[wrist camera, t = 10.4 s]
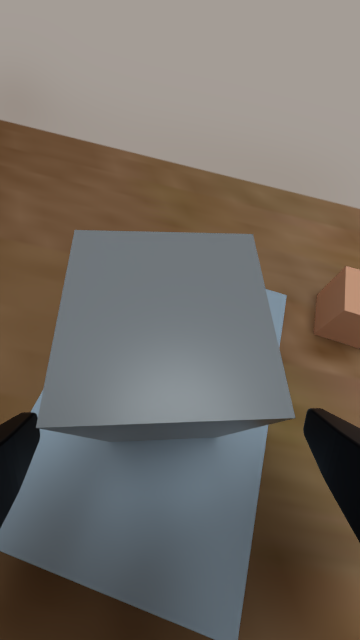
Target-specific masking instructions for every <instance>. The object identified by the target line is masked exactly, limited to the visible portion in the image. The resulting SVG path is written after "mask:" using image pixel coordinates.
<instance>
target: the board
mask: <svg viewBox="0 0 360 640" xmlns="http://www.w3.org/2000/svg"><path fill="white" fill-rule="evenodd" d="M266 294H267V298H268V302H269V306H270V311H271V315H272V319H273V324H274V328H275V332H276V337H277V341H278V345H279V346H280V339H281V332H282V325H283V318H284V311H285V304H286V297H287V295H284V294H281V293H277V292H274V291H270V290H267V289H266ZM42 394H43V391H42V393H41V395H40V397H39V398H38V400H37V402H36V404H35V405H34V407H33V409H32V411H31V412H34V413H36V414H37V417H38V414H39V409H40V404H41V399H42ZM267 431H268V425H265V426H261V427H257V428H253V429H249V430H245V431H241V432H237V433H233V434H229V435H225V436H221V437H213V438H190V439H167V440H144V441H121V442H107V441H101V440H96V439H91V438H86V437H81V436H75V435H70V434H65V433H60V432H54V431H49V430H44V429H40V440H39V443H38V446H37V448H36V451H35V453H34V456H33V458H32V461H31V463H30V466H29V468H28V471H27V474H26V476H25V479H24V481H23V484H22V486H21V488H20V491H19V493H18V495H17V497H16V499H15V501H14V503H13V505H12V507H11V509H10V511H9V513H8V515H7V517H6V518H5V520H4V522H3V524H2V526H1V528H0V551H1V552H4V553H6V554H8V555H11V556H13V557H16V558H18V559H20V560H23V561H25V562H28V563H30V564H33V565H35V566H37V567H40V568H42V569H45V570H47V571H50V572H52V573H54V574H57V575H59V576H62V577H64V578H67V579H69V580H71V581H74V582H76V583H79V584H81V585H83V586H86V587H88V588H91V589H93V590H96V591H98V592H100V593H103V594H105V595H108V596H110V597H113V598H115V599H117V600H120V601H122V602H125V603H127V604H129V605H132V606H134V607H137V608H139V609H142V610H144V611H146V612H149V613H151V614H154V615H156V616H159V617H161V618H163V619H166V620H168V621H171V622H173V623H176V624H178V625H180V626H183V627H185V628H188V629H190V630H192V631H195V632H197V633H200V634H202V635H205V636H207V637H209V638H212V639H214V640H238V635H239V628H240V621H241V614H242V607H243V600H244V593H245V586H246V578H247V571H248V564H249V557H250V550H251V543H252V536H253V529H254V522H255V515H256V508H257V501H258V494H259V487H260V480H261V473H262V466H263V459H264V452H265V445H266V438H267Z"/></svg>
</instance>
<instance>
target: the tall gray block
mask: <svg viewBox="0 0 360 640" xmlns="http://www.w3.org/2000/svg"><path fill="white" fill-rule="evenodd" d="M293 418H295V415H294V410H293V406H292V402H291V397H290V393H289V389H288V384H287V380H286V376H285V371H284V367H283V363H282V358H281V354H280V350H279V345H278V341H277V337H276V332H275V328H274V324H273V319H272V315H271V311H270V306H269V302H268V298H267V294H266V289H265V285H264V281H263V276H262V272H261V268H260V263H259V259H258V255H257V250H256V246H255V242H254V237H253V234H222V233H178V232H134V231H90V230H75V231H74V236H73V241H72V247H71V252H70V257H69V262H68V267H67V272H66V277H65V282H64V287H63V292H62V297H61V303H60V308H59V313H58V318H57V323H56V328H55V333H54V338H53V343H52V348H51V353H50V358H49V364H48V369H47V374H46V379H45V384H44V389H43V394H42V399H41V404H40V409H39V414H38V419H37V425H36V428H39V429H44V430H49V431H54V432H60V433H65V434H70V435H75V436H81V437H86V438H91V439H96V440H101V441H107V442H121V441H144V440H167V439H190V438H213V437H221V436H225V435H229V434H233V433H237V432H241V431H245V430H249V429H253V428H257V427H261V426H265V425H269V424H273V423H277V422H281V421H285V420H289V419H293Z"/></svg>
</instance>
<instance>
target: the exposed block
mask: <svg viewBox="0 0 360 640" xmlns="http://www.w3.org/2000/svg"><path fill="white" fill-rule="evenodd" d="M314 334H315V335H318V336H321V337H324V338H327V339H330V340H334V341H337V342H340V343H343V344H346V345H349V346H352V347H356V348H359V349H360V270H358V269H355V268H351V267H348V266H345V267H344V268H343V269H342V270H341V271H340V272H339V273H338V274H337V275H336V276H335V277H334V278H333V279H332V280H331V281H330V282H329V283H328V284H327V285H326V286H325V287H324V288H323V289H322V290H321V291H320V292H319V293H318V294H317V301H316V312H315V323H314Z"/></svg>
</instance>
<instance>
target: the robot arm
mask: <svg viewBox="0 0 360 640" xmlns="http://www.w3.org/2000/svg"><path fill="white" fill-rule="evenodd" d="M37 419H38V417H37V414H36V413H34V412H24V413H20V414H19V415H17V416H15V417H13V418H12V419H10V420H8V421H6V422H4V423H3V424H1V425H0V528H1V526H2V524H3V522H4V520H5V518H6V517H7V515H8V513H9V511H10V509H11V507H12V505H13V503H14V501H15V499H16V497H17V495H18V493H19V491H20V488H21V486H22V484H23V481H24V479H25V476H26V474H27V471H28V468H29V466H30V463H31V461H32V458H33V456H34V453H35V451H36V448H37V446H38V443H39V440H40V429H39V428H36V425H37ZM304 435H305V438H306V440H307V442H308V445H309V447H310V449H311V451H312V453H313V456H314V458H315V460H316V462H317V465H318V467H319V469H320V471H321V473H322V475H323V478H324V480H325V481H326V483H327V485H328V487H329V489H330V491H331V492H332V494H333V496H334V498H335V500H336V501H337V503H338V505H339V507H340V508H341V510H342V512H343V514H344V516H345V517H346V519H347V521H348V523H349V524H350V526H351V528H352V530H353V531H354V533H355V535H356V537H357V539H358V540H359V542H360V428H358V427H356V426H354V425H352V424H351V423H349V422H347V421H345V420H343V419H341V418H339V417H337V416H335V415H333V414H331V413H329V412H327V411H325V410H323V409H320V408H311V409H308V411H307V414H306V418H305V423H304Z"/></svg>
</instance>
